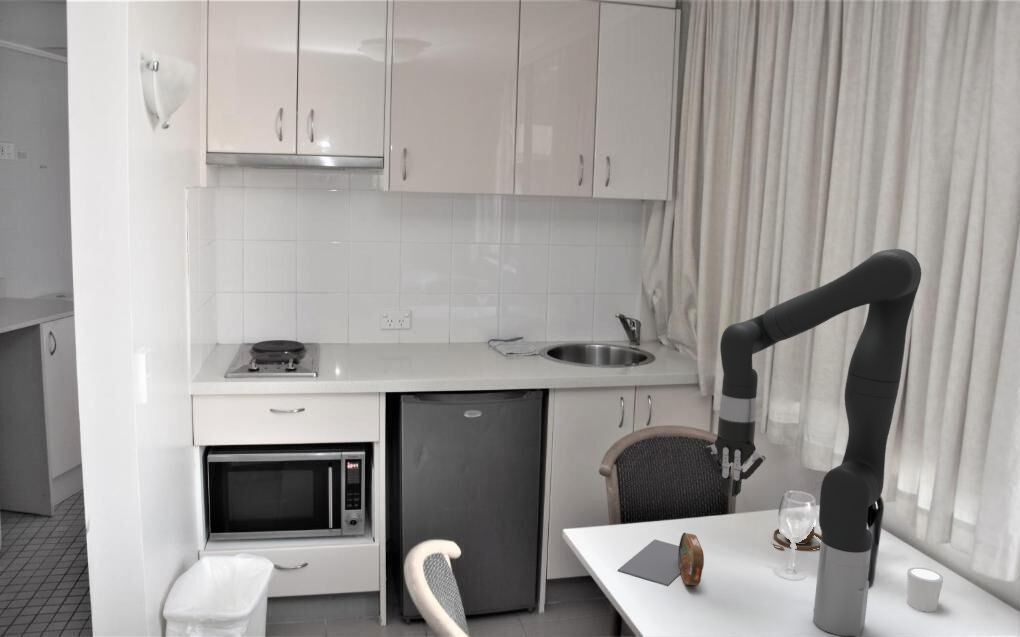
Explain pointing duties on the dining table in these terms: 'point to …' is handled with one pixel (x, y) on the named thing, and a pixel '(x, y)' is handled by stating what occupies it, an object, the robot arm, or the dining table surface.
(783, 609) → the dining table surface
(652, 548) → the mat
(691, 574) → the tin
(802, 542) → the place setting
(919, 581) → the white cup
